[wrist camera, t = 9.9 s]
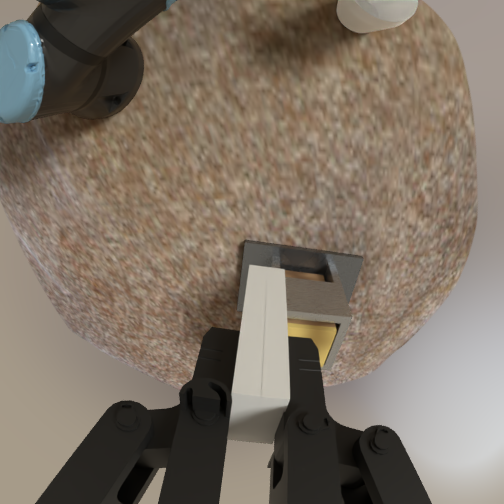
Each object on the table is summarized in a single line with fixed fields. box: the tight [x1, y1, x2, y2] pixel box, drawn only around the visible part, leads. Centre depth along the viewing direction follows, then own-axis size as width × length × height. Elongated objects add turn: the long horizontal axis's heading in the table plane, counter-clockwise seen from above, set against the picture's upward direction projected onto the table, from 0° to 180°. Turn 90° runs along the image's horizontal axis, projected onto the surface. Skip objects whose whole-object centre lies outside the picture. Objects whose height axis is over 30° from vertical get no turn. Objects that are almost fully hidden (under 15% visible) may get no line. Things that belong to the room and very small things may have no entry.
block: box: [285, 270, 337, 367], centre depth 46 cm, size 7×7×14 cm
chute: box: [237, 240, 363, 370], centre depth 47 cm, size 20×14×15 cm
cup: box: [336, 0, 418, 33], centre depth 27 cm, size 9×9×12 cm
